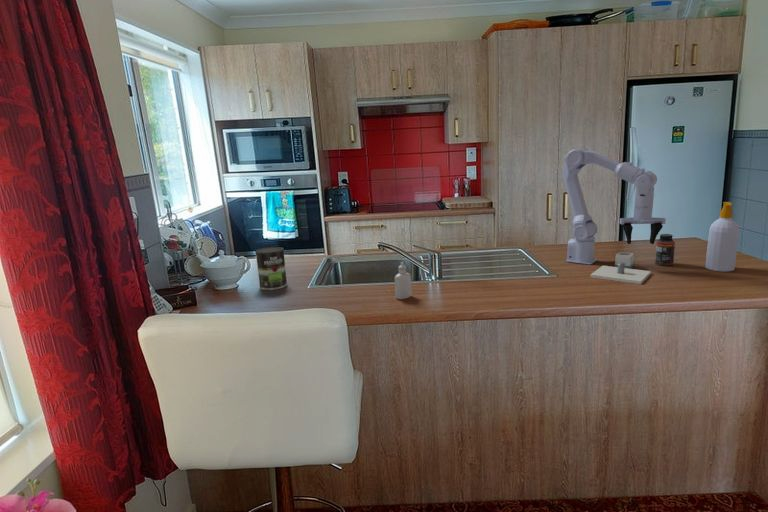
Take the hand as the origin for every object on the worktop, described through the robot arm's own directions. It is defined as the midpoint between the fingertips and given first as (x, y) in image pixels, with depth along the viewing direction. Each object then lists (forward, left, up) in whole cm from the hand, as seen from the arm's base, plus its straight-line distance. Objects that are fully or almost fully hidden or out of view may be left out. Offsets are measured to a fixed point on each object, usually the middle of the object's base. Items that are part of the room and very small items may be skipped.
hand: (640, 243), depth 169 cm
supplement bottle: (+6, +11, -10) cm, 16 cm away
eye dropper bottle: (-54, -71, -10) cm, 90 cm away
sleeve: (-5, 0, -10) cm, 11 cm away
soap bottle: (+23, +13, -10) cm, 28 cm away
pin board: (-3, -12, -10) cm, 16 cm away
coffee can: (-104, -87, -10) cm, 136 cm away
